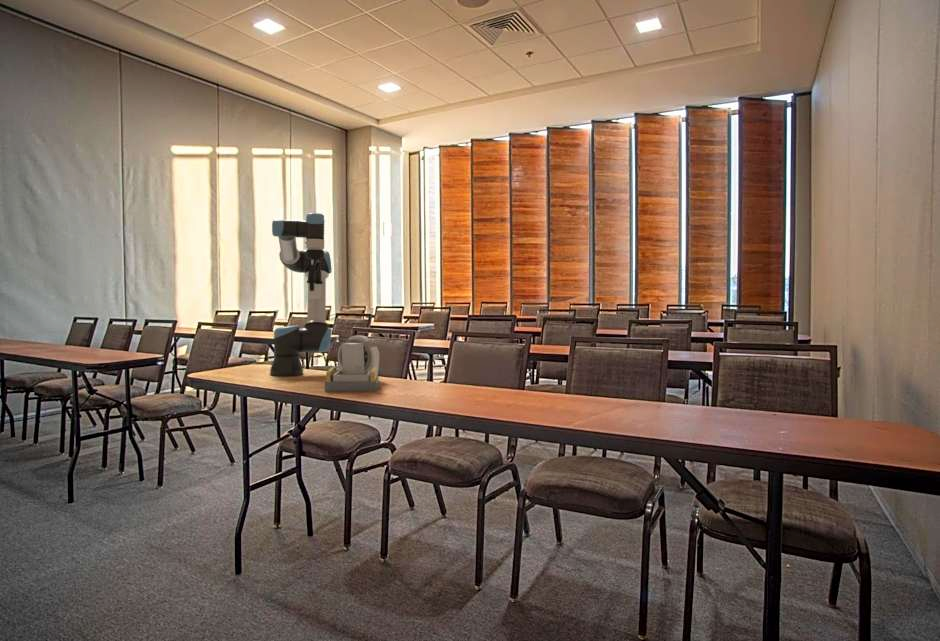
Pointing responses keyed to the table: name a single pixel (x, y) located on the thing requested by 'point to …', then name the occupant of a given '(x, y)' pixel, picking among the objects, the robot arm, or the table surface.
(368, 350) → the alarm clock
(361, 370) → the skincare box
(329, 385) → the grey display stand
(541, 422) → the table surface
